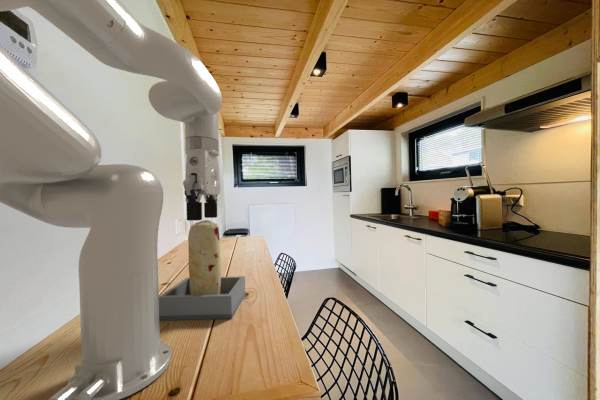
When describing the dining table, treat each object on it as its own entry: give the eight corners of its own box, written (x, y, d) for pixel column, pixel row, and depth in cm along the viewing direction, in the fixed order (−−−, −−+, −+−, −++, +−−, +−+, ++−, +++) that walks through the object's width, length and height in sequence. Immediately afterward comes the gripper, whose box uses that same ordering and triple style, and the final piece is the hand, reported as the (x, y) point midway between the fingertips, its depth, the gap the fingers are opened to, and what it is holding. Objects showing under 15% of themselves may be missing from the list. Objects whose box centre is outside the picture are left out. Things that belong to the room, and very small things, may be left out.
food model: (228, 303, 57) (226, 220, 57) (201, 314, 52) (198, 223, 52) (210, 293, 64) (208, 218, 64) (184, 301, 59) (182, 220, 59)
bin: (231, 318, 52) (231, 295, 52) (158, 320, 52) (157, 297, 52) (245, 294, 65) (244, 276, 65) (186, 295, 65) (186, 277, 65)
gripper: (203, 138, 49) (204, 221, 49) (228, 155, 67) (229, 216, 66) (167, 139, 49) (168, 222, 49) (201, 155, 67) (202, 217, 66)
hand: (203, 218), depth 58 cm, fingers open, 9 cm apart
